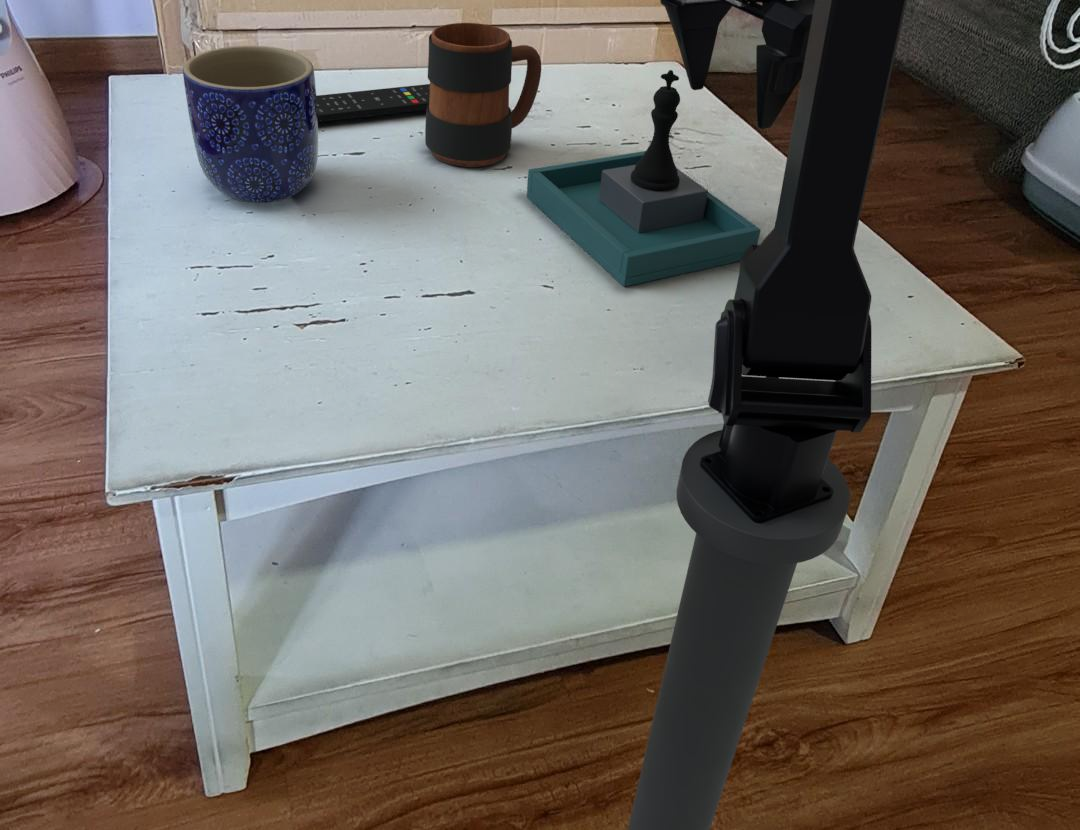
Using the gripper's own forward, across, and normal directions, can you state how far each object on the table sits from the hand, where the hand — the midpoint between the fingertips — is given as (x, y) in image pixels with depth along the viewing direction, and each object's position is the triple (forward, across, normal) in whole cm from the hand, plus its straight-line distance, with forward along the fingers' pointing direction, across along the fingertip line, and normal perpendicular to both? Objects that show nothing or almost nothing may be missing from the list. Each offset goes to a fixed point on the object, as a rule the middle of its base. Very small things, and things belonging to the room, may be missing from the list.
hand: (729, 107), depth 83 cm
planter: (+12, +23, +34) cm, 43 cm away
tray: (+12, +4, +5) cm, 13 cm away
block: (+11, +5, +3) cm, 12 cm away
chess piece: (+8, +5, +3) cm, 10 cm away
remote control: (+12, +37, +19) cm, 44 cm away
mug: (+12, +24, +11) cm, 29 cm away
